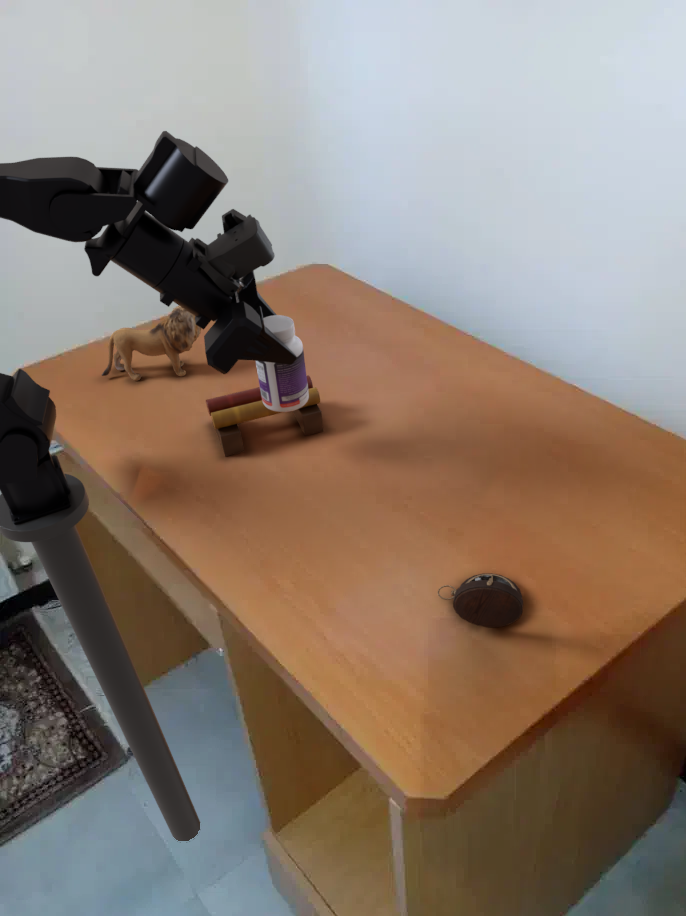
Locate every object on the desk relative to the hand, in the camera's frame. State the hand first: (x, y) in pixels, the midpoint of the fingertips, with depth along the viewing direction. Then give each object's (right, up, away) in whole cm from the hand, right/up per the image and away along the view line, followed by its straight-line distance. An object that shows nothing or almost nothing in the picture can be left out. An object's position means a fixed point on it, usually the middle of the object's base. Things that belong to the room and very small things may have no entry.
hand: (291, 347), depth 87 cm
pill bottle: (-1, -5, +4) cm, 7 cm away
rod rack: (-4, -7, +12) cm, 15 cm away
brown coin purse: (+19, -27, -11) cm, 35 cm away
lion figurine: (-21, +2, +24) cm, 32 cm away
